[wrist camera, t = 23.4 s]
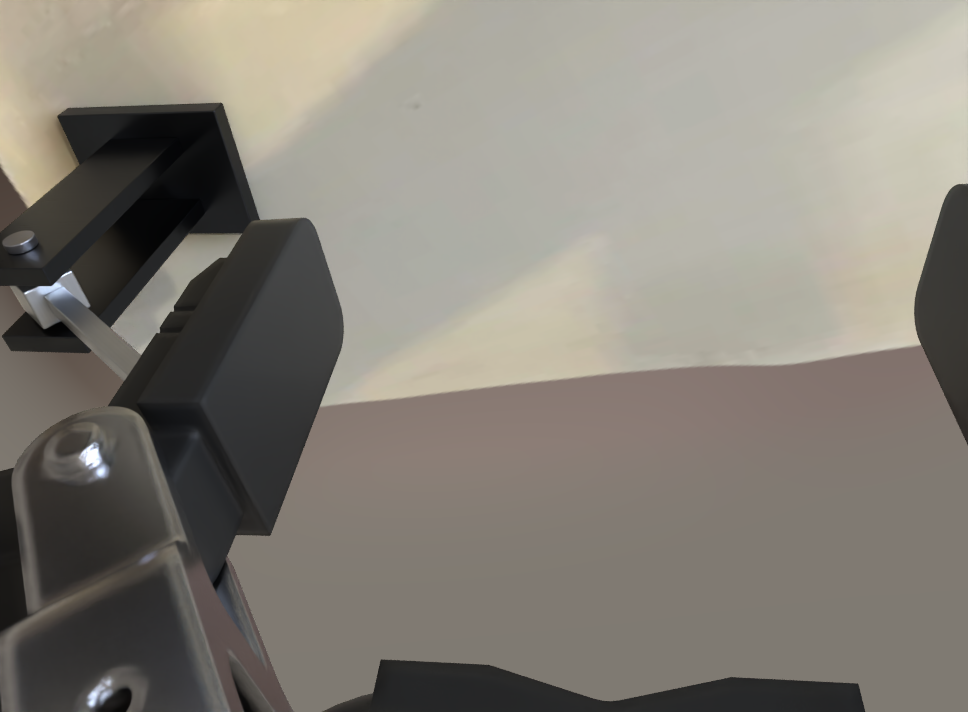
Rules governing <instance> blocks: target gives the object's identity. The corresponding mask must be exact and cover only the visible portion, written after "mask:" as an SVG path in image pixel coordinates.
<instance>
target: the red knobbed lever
mask: <svg viewBox="0 0 968 712" xmlns="http://www.w3.org/2000/svg"><path fill="white" fill-rule="evenodd" d="M10 287H11V289H12V291H13V292H14V294H15V296H16V298H17V299H18V301H19V303H20V304H21V306H22V307H23V309H24V310H25V311H26V312H27V313H28V314H29V315H30V316H31V317H32V318H33V319H34V320H35V321H36V322H37V323H38V324H39V325H40V326H41V327H42V328H43V329H47V328H49V327H51V326H53V325H55V324H57V323H59V322H62V323H63V324H65V325H66V326H67V327H68V328H69V329H70V330H71V331H72V332H73V333H74V334H75V335H76V336H77V337H78V338H79V339H80V340H81V341H82V342H83V343H84V344H86V345H87V346H88V347H89V348H90V349H91V350H92V351H93V352H94V353H95V354H96V355H97V356H98V357H99V358H100V359H101V360H102V361H103V362H104V363H106V364H107V365H108V366H109V367H110V368H111V369H112V370H113V371H114V372H115V373H116V374H117V375H118V376H119V377H120V378H121V379H122V380H123V381H125V379H126V378H127V376H128V375H129V373H130V372H131V370H132V369H133V367H134V366H135V364H136V363H137V361H138V360H139V358H140V357H141V355H140V354H139V353H138V352H137V351H136V350H135V349H133V348H132V347H131V346H130V345H129V344H128V343H127V342H125V341H124V340H123V339H122V338H121V337H120V336H119V335H118V334H116V333H115V332H114V331H113V330H112V329H111V328H110V327H108V326H107V325H106V324H105V323H104V322H103V321H102V320H100V319H99V318H98V317H97V316H96V315H95V314H94V313H93V312H91V311H90V310H89V309H88V308H89V307H90V303H89V301H88V299H87V297H86V295H85V294H84V292H83V290H82V288H81V286H80V284H79V282H78V280H77V278H76V276H75V275H74V273H73V271H72V270H71V269H69V270H68V271H67V272H66V273H65V274H64V275H63V276H62V277H61V278H60V279H59V280H58V281H57V282H56V283H55V284H54V285H53V286H10Z"/></svg>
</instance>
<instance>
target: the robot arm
mask: <svg viewBox="0 0 968 712" xmlns="http://www.w3.org/2000/svg"><path fill="white" fill-rule="evenodd" d="M914 316H915V326H916V331H917V335H918V338H919V340H920V343H921V345H922V347H923V349H924V351H925V354H926V355H927V358H928V360H929V362H930V364H931V366H932V369H933V371H934V373H935V375H936V377H937V379H938V382H939V384H940V386H941V388H942V390H943V392H944V395H945V397H946V399H947V401H948V403H949V405H950V407H951V410H952V412H953V414H954V416H955V418H956V421H957V423H958V425H959V427H960V429H961V431H962V433H963V436H964V438H965V440H966V442H967V444H968V184H958V185H955V186H954V187H952V188H951V189H950V191H949V192H948V194H947V195H946V197H945V200H944V202H943V205H942V208H941V212H940V215H939V218H938V221H937V225H936V228H935V231H934V235H933V238H932V241H931V244H930V248H929V251H928V254H927V258H926V261H925V264H924V268H923V271H922V274H921V277H920V281H919V284H918V287H917V291H916V297H915V306H914ZM343 333H344V325H343V315H342V309H341V306H340V302H339V299H338V296H337V293H336V290H335V287H334V284H333V281H332V278H331V274H330V271H329V268H328V265H327V262H326V259H325V256H324V253H323V250H322V247H321V243H320V240H319V237H318V234H317V232H316V229H315V227H314V225H313V224H312V222H311V221H310V220H309V219H307V218H291V219H272V220H255V221H252V222H250V223H249V224H248V226H247V227H246V229H245V230H244V232H243V233H242V235H241V237H240V238H239V240H238V241H237V243H236V245H235V246H234V248H233V249H232V251H231V253H230V254H229V256H228V257H227V258H219V259H218V260H216V261H215V262H214V263H213V264H211V265H210V266H209V267H208V268H206V269H205V270H204V271H203V272H201V273H200V274H199V275H198V276H196V277H195V278H194V279H193V280H191V281H190V283H189V284H188V286H187V287H186V289H185V290H184V292H183V293H182V295H181V296H180V298H179V299H178V301H177V302H176V304H175V305H174V312H170V313H169V314H168V316H167V317H166V319H165V321H164V322H163V324H162V325H161V327H160V333H156V334H155V336H154V337H153V339H152V340H151V342H150V343H149V345H148V346H147V348H146V349H145V351H144V352H143V354H142V355H141V357H140V358H139V360H138V361H137V363H136V364H135V366H134V367H133V369H132V370H131V372H130V373H129V375H128V376H127V378H126V379H125V381H124V382H123V384H122V386H121V387H120V388H119V390H118V391H117V393H116V394H115V396H114V397H113V399H112V400H111V402H110V404H109V405H108V406H107V407H99V408H93V409H90V410H86V411H82V412H80V413H77V414H74V415H72V416H70V417H68V418H66V419H64V420H62V421H60V422H58V423H56V424H55V425H53V426H51V427H50V428H49V429H47V430H46V431H44V432H43V433H42V434H41V435H39V436H38V437H37V438H36V439H35V440H34V441H33V442H32V443H31V444H30V445H29V446H28V447H27V448H26V449H25V450H24V452H23V453H22V455H21V456H20V458H19V459H18V461H17V463H16V465H15V467H14V468H11V469H8V470H3V471H0V712H294V711H293V709H292V707H291V706H290V704H289V702H288V700H287V698H286V696H285V694H284V692H283V690H282V688H281V685H280V683H279V681H278V679H277V676H276V674H275V671H274V669H273V666H272V664H271V661H270V658H269V656H268V653H267V651H266V648H265V646H264V643H263V641H262V638H261V636H260V633H259V630H258V628H257V625H256V623H255V620H254V618H253V615H252V613H251V610H250V608H249V605H248V602H247V600H246V597H245V595H244V592H243V590H242V587H241V585H240V582H239V580H238V577H237V574H236V572H235V569H234V567H233V565H232V563H231V561H230V560H229V558H228V557H227V555H228V552H229V550H230V548H231V545H232V543H233V540H234V538H235V536H236V535H261V536H264V535H265V536H270V535H271V533H272V530H273V527H274V525H275V522H276V519H277V517H278V514H279V512H280V509H281V506H282V504H283V501H284V498H285V496H286V493H287V491H288V488H289V485H290V483H291V480H292V477H293V475H294V472H295V469H296V467H297V464H298V462H299V459H300V456H301V453H302V451H303V448H304V446H305V443H306V440H307V438H308V435H309V432H310V430H311V427H312V425H313V422H314V419H315V417H316V414H317V411H318V409H319V406H320V404H321V401H322V398H323V396H324V393H325V390H326V388H327V385H328V383H329V380H330V377H331V375H332V372H333V369H334V367H335V364H336V362H337V359H338V356H339V354H340V351H341V348H342V343H343ZM323 712H865V709H864V705H863V701H862V697H861V693H860V689H859V685H858V684H854V683H833V682H815V681H794V680H775V679H774V680H773V679H755V678H736V677H730V678H725V679H721V680H716V681H711V682H706V683H701V684H697V685H692V686H687V687H682V688H678V689H673V690H668V691H663V692H658V693H654V694H649V695H644V696H639V697H634V698H629V699H624V700H620V701H601V700H597V699H593V698H590V697H586V696H583V695H580V694H577V693H574V692H571V691H568V690H565V689H562V688H559V687H556V686H552V685H549V684H546V683H543V682H540V681H537V680H534V679H531V678H528V677H525V676H521V675H518V674H515V673H512V672H509V671H506V670H503V669H499V668H497V667H494V666H490V665H479V664H459V663H458V664H457V663H439V662H420V661H400V660H381V661H380V666H379V670H378V675H377V679H376V683H375V688H374V692H373V694H368V695H364V696H360V697H357V698H355V699H352V700H349V701H346V702H343V703H340V704H338V705H335V706H333V707H331V708H329V709H327V710H325V711H323Z"/></svg>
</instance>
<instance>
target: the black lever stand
mask: <svg viewBox="0 0 968 712" xmlns="http://www.w3.org/2000/svg"><path fill="white" fill-rule="evenodd" d="M58 119H59V121H60V123H61V126H62V128H63V130H64V132H65V134H66V136H67V138H68V140H69V143H70V145H71V147H72V149H73V151H74V153H75V155H76V158H77V160H78V162H79V164H80V165H79V166H78V167H77V168H76V169H75V170H73V171H72V172H71V173H70V174H69V175H67V176H66V177H65V178H64V179H63V180H62V181H60V182H59V183H58V184H57V185H56V186H55V187H53V188H52V189H51V190H50V191H49V192H47V193H46V194H45V195H44V196H43V197H42V198H40V199H39V200H38V201H37V202H36V203H34V204H33V205H32V206H31V207H30V208H29V209H27V210H26V211H25V212H24V213H23V214H21V215H20V216H19V217H18V218H17V219H16V220H14V221H13V222H12V223H11V224H10V225H9V226H7V227H6V228H5V229H4V230H3V231H1V232H0V286H53V285H54V284H55V283H56V282H57V281H58V280H59V279H60V278H61V277H62V276H63V275H64V274H65V273H66V272H67V271H68V270H69V269H71V270H72V271H73V273H74V275H75V276H76V278H77V280H78V282H79V284H80V286H81V288H82V290H83V292H84V294H85V295H86V297H87V299H88V301H89V303H90V307H89V308H88V309H89V310H90V311H91V312H93V313H94V314H95V315H96V316H97V317H98V318H99V319H100V320H102V321H103V322H104V323H105V324H106V325H107V326H108V327H111V326H112V325H113V324H114V323H115V321H116V320H117V319H118V318H119V317H120V315H121V314H122V313H123V312H124V310H125V309H126V308H127V307H128V306H129V304H130V303H131V302H132V301H133V300H134V298H135V297H136V296H137V295H138V294H139V292H140V291H141V290H142V289H143V288H144V286H145V285H146V284H147V283H148V282H149V280H150V279H151V278H152V277H153V276H154V274H155V273H156V272H157V271H158V269H159V268H160V267H161V266H162V265H163V263H164V262H165V261H166V260H167V259H168V257H169V256H170V255H171V254H172V253H173V251H174V250H175V249H176V248H177V247H178V245H179V244H180V243H181V242H182V241H183V239H184V238H185V237H186V236H187V234H188V233H243V232H244V230H245V229H246V227H247V226H248V224H249V223H250V222H252V221H255V220H260V219H259V216H258V213H257V210H256V207H255V204H254V200H253V197H252V194H251V191H250V188H249V185H248V182H247V179H246V175H245V172H244V169H243V166H242V163H241V160H240V157H239V154H238V150H237V147H236V144H235V141H234V138H233V135H232V132H231V129H230V126H229V122H228V119H227V116H226V113H225V110H224V107H223V104H222V103H206V104H177V105H147V106H118V107H89V108H68V109H66V110H65V111H64V112H62V113H61V114H59V115H58ZM2 338H3V339H4V341H5V342H6V344H7V345H8V347H9V349H10V350H11V351H30V352H31V351H32V352H64V353H66V352H67V353H89V352H90V351H91V349H90V348H89V347H88V346H87V345H86V344H84V343H83V342H82V341H81V340H80V339H79V338H78V337H77V336H76V335H75V334H74V333H73V332H72V331H71V330H70V329H69V328H68V327H67V326H66V325H65V324H63V323H62V322H59V323H57V324H55V325H53V326H51V327H49V328H47V329H43V328H42V327H41V326H40V325H39V324H38V323H37V322H36V321H35V320H34V319H33V318H32V317H31V316H30V315H29V314H28V313H27V312H25V313H24V314H23V315H22V316H21V317H20V318H19V319H18V320H17V321H16V322H15V323H14V324H13V325H12V326H11V327H10V328H9V329H8V330H7V331H6V332H5V333H4V334H3V335H2Z"/></svg>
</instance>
